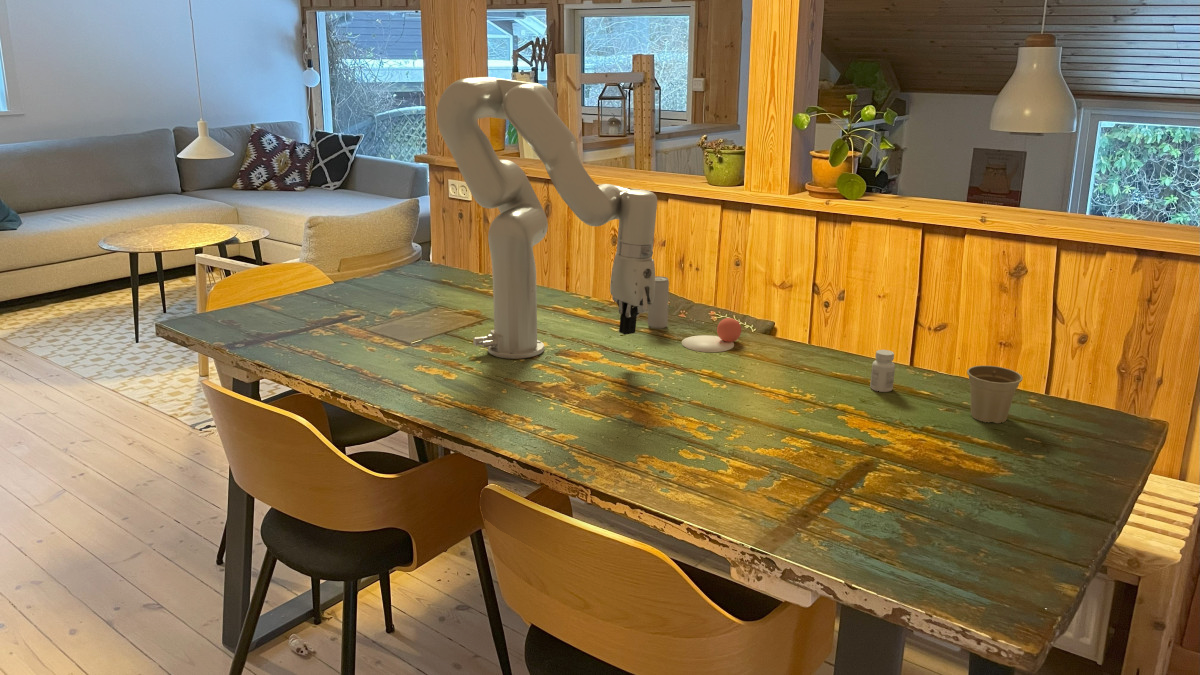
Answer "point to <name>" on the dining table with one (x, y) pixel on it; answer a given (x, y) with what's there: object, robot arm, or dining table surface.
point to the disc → (707, 343)
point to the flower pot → (992, 392)
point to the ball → (729, 330)
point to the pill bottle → (883, 371)
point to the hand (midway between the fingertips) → (627, 332)
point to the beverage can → (659, 304)
